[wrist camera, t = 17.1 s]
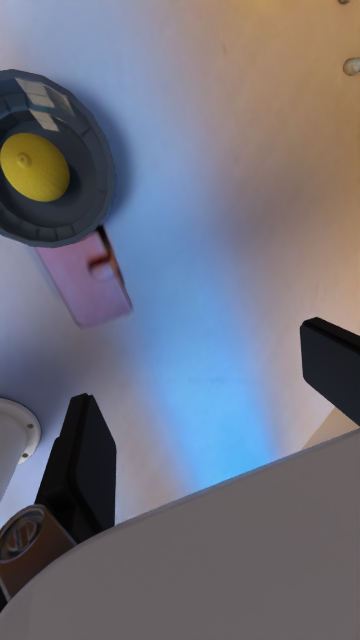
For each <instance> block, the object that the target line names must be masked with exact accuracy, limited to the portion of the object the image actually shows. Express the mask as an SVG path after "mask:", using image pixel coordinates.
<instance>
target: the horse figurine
mask: <svg viewBox="0 0 360 640" xmlns="http://www.w3.org/2000/svg"><path fill="white" fill-rule="evenodd" d="M339 1H341V2H348V1H349V0H339ZM344 71H345V73H346V74H348V75H353V74H356V73H358V72H359V71H360V58H352V59H348V60H347V61H346V62H345V64H344Z"/></svg>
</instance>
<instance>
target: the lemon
mask: <svg viewBox="0 0 360 640" xmlns="http://www.w3.org/2000/svg"><path fill="white" fill-rule="evenodd" d="M0 161H1V167H2V169H3V172H4V174H5V176H6V178H7V179H8V181H9V182H10V184H11V185H12V186H13V187H14V188H15V189H16V190H17V191H18V192H20V193H21V194H23V195H24V196H26V197H28V198H30V199H33V200H36V201H41V202H49V201H54V200H56V199H58V198H60V197H61V196H62V195H63V194H64V193H65V192H66V190H67V188H68V185H69V182H70V173H69V168H68V165H67V163H66V160H65V158H64V156H63V155H62V154H61V152H60V151H59V150H58V148H57V147H55V146H54V145H53V144H52V143H51V142H50V141H48V140H46V139H45V138H43V137H41V136H39V135H35V134H32V133H19V134H15V135H13V136H11V137H10V138H8V139H7V140H6V141H5V143H4V144H3V146H2V149H1V153H0Z"/></svg>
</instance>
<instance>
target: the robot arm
mask: <svg viewBox="0 0 360 640" xmlns="http://www.w3.org/2000/svg"><path fill="white" fill-rule="evenodd" d="M300 339H301V354H302V369H303V377H304V379H305V381H306V382H307V383H308V384H309V385H310V386H312V387H313V388H314V389H315V390H316V391H318V392H319V393H320V394H321V395H322V396H324V397H325V398H326V399H327V400H328V401H330V402H331V403H332V404H333V405H334V406H336V407H337V408H338V409H339V410H341V411H342V412H343V413H344V414H345V415H346V416H348V417H349V418H350V419H351V420H352V421H354V422H355V423H356V424H357V425H358V426H360V336H359V335H356V334H354V333H352V332H350V331H348V330H345V329H343V328H341V327H339V326H336V325H334V324H332V323H330V322H327V321H325V320H323V319H321V318H318V317H315V318H312V319H309V320H305V321H304V322H303V323H302V325H301V326H300ZM40 438H41V429H40V424H39V422H38V420H37V418H36V417H35V416H34V415H33V413H32V412H30V411H29V410H28V409H27V408H26V407H24V406H22V405H20V404H19V403H16V402H13V401H11V400H7V399H2V398H0V502H1V500H2V498H3V496H4V493H5V491H6V489H7V487H8V485H9V482H10V480H11V478H12V476H13V474H14V471H15V469H16V467H17V465H19V464H21V463H23V462H24V461H26V460H27V459H28V458H29V457H31V456H32V454H33V453H34V452H35V450H36V448H37V446H38V444H39V441H40ZM116 453H117V451H116V444H115V441H114V439H113V437H112V435H111V433H110V431H109V428H108V426H107V424H106V422H105V420H104V418H103V415H102V413H101V411H100V409H99V407H98V405H97V402H96V400H95V398H94V396H93V395H88V394H87V393H84V394H80V395H77V396H74V397H72V398H71V400H70V403H69V406H68V410H67V413H66V416H65V419H64V423H63V426H62V429H61V432H60V436H59V437H57V438H56V439H55V441H54V444H53V447H52V450H51V453H50V456H49V459H48V462H47V465H46V469H45V472H44V475H43V478H42V481H41V484H40V487H39V490H38V493H37V496H36V500H35V503H34V505H30V506H27V507H26V508H24V509H22V510H20V511H19V512H17V513H16V514H15V515H14V516H12V517H11V518H10V519H9V520H8V521H7V522H6V524H5V525H4V526H3V527H2V528H1V530H0V640H360V428H359V429H356V430H354V431H351V432H348V433H346V434H343V435H341V436H338V437H335V438H333V439H330V440H327V441H325V442H322V443H320V444H317V445H315V446H312V447H310V448H307V449H304V450H302V451H299V452H297V453H294V454H291V455H289V456H286V457H284V458H281V459H279V460H276V461H274V462H271V463H268V464H266V465H263V466H261V467H258V468H256V469H253V470H251V471H248V472H245V473H243V474H240V475H238V476H235V477H233V478H230V479H228V480H225V481H223V482H220V483H218V484H215V485H213V486H210V487H208V488H205V489H203V490H200V491H198V492H195V493H193V494H190V495H188V496H185V497H183V498H180V499H178V500H175V501H173V502H170V503H168V504H165V505H163V506H160V507H158V508H156V509H153V510H151V511H148V512H146V513H144V514H141V515H139V516H136V517H134V518H132V519H129V520H127V521H125V522H122V523H120V524H118V525H116V526H114V525H115V489H116Z"/></svg>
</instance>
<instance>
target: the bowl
mask: <svg viewBox="0 0 360 640" xmlns="http://www.w3.org/2000/svg"><path fill="white" fill-rule="evenodd" d="M19 133H32V134H35V135H39V136H41V137H43V138H45V139H46V140H48V141H50V142H51V143H52V144H53V145H54V146H55V147H57V148H58V150H59V151H60V152H61V154H62V155H63V156H64V158H65V160H66V163H67V165H68V168H69V173H70V182H69V185H68V188H67V190H66V192H65V193H64V194H63V195H62V196H61V197H60V198H58V199H56V200H54V201H49V202H41V201H36V200H33V199H30V198H28V197H26V196H24V195H23V194H21V193H20V192H18V191H17V190H16V189H15V188H14V187H13V186H12V185H11V184H10V182H9V181H8V179H7V178H6V176H5V174H4V172H3V169H2V167H1V161H0V234H1V235H2V236H3V237H6V238H8V239H11V240H14V241H16V242H19V243H22V244H24V245H27V246H31V247H44V248H56V247H61V246H65V245H69V244H74V243H77V242H80V241H83V240H85V239H86V238H88V237H89V236H91V235H92V234H94V233H96V232H97V231H98V230H99V229H100V228H101V226H102V225H103V224H104V222H105V221H106V220H107V218H108V217H109V215H110V212H111V209H112V206H113V203H114V200H115V196H116V175H115V168H114V164H113V160H112V156H111V153H110V149H109V145H108V142H107V139H106V137H105V135H104V134H103V132H102V130H101V128H100V127H99V125H98V123H97V122H96V120H95V118H94V116H93V115H92V113H91V112H90V111H89V110H88V109H87V108H86V107H85V106H84V105H83V104H82V103H81V102H80V101H79V100H78V99H77V98H76V97H75V96H74V95H73V94H72V93H71V92H70V91H69V90H67V89H65V88H63V87H62V86H60V85H58V84H56V83H55V82H53V81H51V80H49V79H48V78H46V77H44V76H42V75H38V74H33V73H28V72H24V71H19V70H15V69H10V70H3V71H0V153H1V149H2V146H3V144H4V143H5V141H6V140H7V139H8V138H10V137H11V136H13V135H15V134H19Z"/></svg>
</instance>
